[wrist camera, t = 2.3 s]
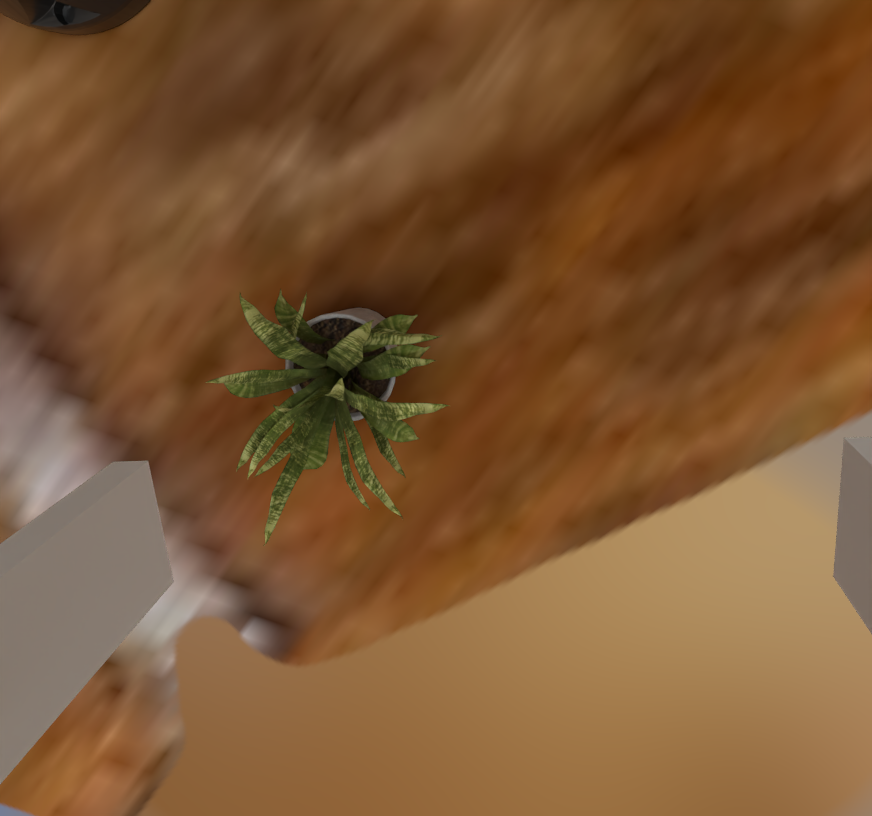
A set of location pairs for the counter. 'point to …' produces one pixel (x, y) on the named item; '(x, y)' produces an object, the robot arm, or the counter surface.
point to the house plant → (330, 392)
